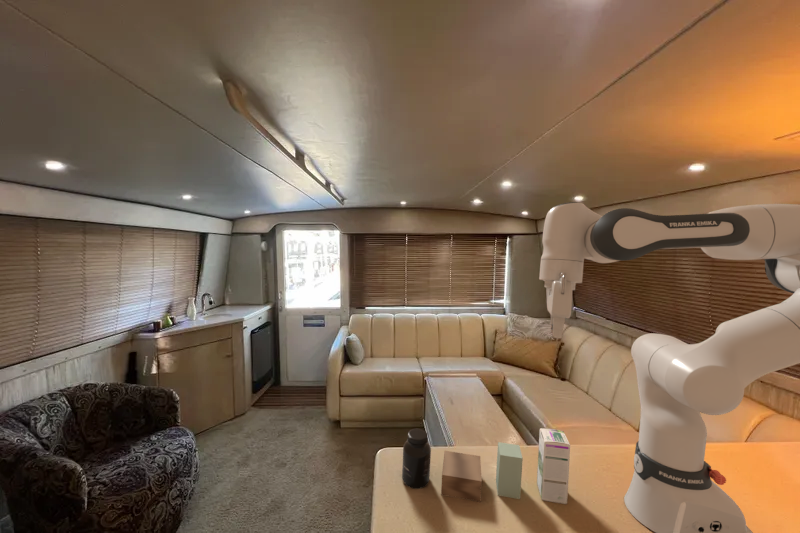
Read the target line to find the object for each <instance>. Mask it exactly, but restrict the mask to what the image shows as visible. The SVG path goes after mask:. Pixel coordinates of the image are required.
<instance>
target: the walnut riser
mask: <svg viewBox="0 0 800 533" xmlns="http://www.w3.org/2000/svg"><path fill="white" fill-rule="evenodd" d="M442 460H443V463H442V472H441V473H442V474H441V487H440V488H441V489H440V495H441V496H445V497H451V498H457V499H462V500H466V501H467V500H469V501H474V502H479V503H481V502H482V486H483V485H482V484H483V478H482V476H483V475H482V461H481V456H480V455H477V454H476V455H475V454H468V453H462V452H455V451H448V450H444V452H443V459H442Z"/></svg>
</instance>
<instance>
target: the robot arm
mask: <svg viewBox="0 0 800 533" xmlns="http://www.w3.org/2000/svg"><path fill="white" fill-rule="evenodd" d="M541 242H542V243H541V244H542V246H543V250H542V255H541V257H540V266H539V275H538V276H539V277H538V279H539V280H540V281H543V282H544V285H543V286H544V288H545V291H546V308H547V309H546V310H547V312H548V313H549V314H550V332H551V333H552V337H553V338H555V339H562V338H563V331H564V329H565V322H566V319H570V318H571V315H572V308H573V307H572V305H573V291H576V285H577V284H583V276H584V263H585V262H584V261H585V260H588V261H592V262H594V263H595V262H596V263H599V264H610V263H615V262H621V261H623V262H624V261H631V260H635V259H638V258H641V257H643V256H645V255H648V254H649V253H651V252H654V251H659V250H671V249H675V250H676V249H693V248H694V249H695V248H696V249H700V250H701V251H702V252H703V253H704V254H706V256H708V257H710V258H713V259H719V260H720V259H721V260H729V261H757V260H764V270H765V274H766V277H767V279H768V281H769V282H770V283H771V284H772V285H773V286H775V287H776V288H777V289H780V290H783V291H785V292H787V293H792V295H790V296H789V297H788V298H787V299H785V300H783V301H782V302H781V303H777V304H774V305H770V306H767V307H764V308H761V309H758V310H754V311H752V312H749V313H747V314H744V315H741V316H738V317H735V318H732V319H730V320H726V321H724V322H721V323H720V324H719V325H718V326H717V328H716V329H715V333H714V334H712V335H711V336H709V337H708V338H706V339H705V340H703V341H700V342H698V343H690V344H689V343H687V342H684V341H682V340H680V339H679V338H676V337H675V336H673V335H668V334H663V333H656V332H655V333H654V332H653V333H652V332H651V333H650V332H649V333H645V334H642V335H641V336H639V337H637V338H636V339H634V341H633V343H632V345H631V348H630V354H631V358H632V360H633V361H632V362H633V363H634V366H635V373H636V382H637V389H638V395H639V396H638V397H639V404H640V420H639V431H638V433H639V434H638V441H637V442H636V444H635V448H634V449H635V450H634V456H633V468H634V470H633V471H634V472H633V475H632V479H631V481H630V484H629V486H628V489H627V492H626V493H625V494H624V498H623V501H624V504H625V507H626V509H627V510H628V511H629V513H630V514H631V516H633V517H634V518H635V519H636V520H637V521H638V522H639V523H641V524H642V525H643V526H644V527H646V528H648V529H649V530H650V531H652V532H654V533H754V532H753V531H752V530H751V529H750V528H749V526H748V525H747V522H746V517H745V516H744V512H743V511H742V509H741V508H740V507H739V505H738V504H737V503H736V501H734V499H732V498H731V497H730V495H729V494H728V493H726V491H724V490H723V489H722V488H721V487H720V486H723V485H725V484H726V483H727V478H726V476H724V475H723V474H721V472H720V471H719V470H717V469H713V468H712V466H711V465H710V464H709V463H708V462H706V461H705V456H706V448H707V447H706V445H707V438H708V432H707V429H708V428H707V426H706V423H705V421H704V419H703V417H702V415H701V414H705V415H710V416H720V415H725V414H728V413H730V412H733V411H734V410H735V409H737V408H738V407H739V405H740V404H741V403H742V401H743V399H744V396H745V395H744V394H745V388H747V387H748V386H750V384H751V383H753V382H755V381H756V380H758V379H759V378H762V377H763V376H765V375H768V374H770V373H774V372H777V371H779V370H783V369H786V368H788V367H789V368H790V367H792V366H796V365H799V364H800V204H792V203H762V204H761V203H760V204H748V205H747V204H746V205H737V206H730V207H724V208H721V209H717V210H713V211H710V212H707V213H696V214H693V213H692V214H676V215H675V214H674V215H673V214H672V215H671V214H670V215H661V214H652V213H648V212H646V211H642V210H638V209H635V208H628V207H627V208H626V207H625V208H624V207H623V208H617V209H616V208H615V209H613V210H610V211H608V212H607V213H605V214H603V215H601V214H599V213H597V212H595V211H593V210H592V209H590V208H589V207H587V206H586V205H585V204H584V203H583V202H578V201H572V202H571V201H570V202H564V203H561V204H556V205H555V206H553V207H552V208H550V210H548V211H547V213H546V216H545V218H544V223H543V231H542V240H541ZM719 485H720V486H719Z"/></svg>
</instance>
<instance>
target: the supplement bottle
mask: <svg viewBox="0 0 800 533" xmlns="http://www.w3.org/2000/svg"><path fill="white" fill-rule="evenodd" d="M402 448H403V449H402V469H401V471H402V472H401V473H402V474H401V478H402V481H403V483H404V485H406V486H407V487H408V488H411V489H414V490H419V489H422V488H425V487H426V486H428V484H429V482H430V476H431V459H432V458H431V456H432V448H431V445H430V443H429V442H428V432H427V431H426V430H425V429H422V428H412V429H410V430H409V431H408V432H407V439H406V441H405V442H404V444H403V447H402Z"/></svg>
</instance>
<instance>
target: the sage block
mask: <svg viewBox="0 0 800 533" xmlns="http://www.w3.org/2000/svg"><path fill="white" fill-rule="evenodd" d="M523 460H524V459H523V454H522V450H521V447H520V445H519V444H514V443H507V442H501V441H500V442H499V441H498V442H497V456H496V475H495V484H496V485H495V486H496V492H497V496H498V497H499V496H500V497H505V498H512V499H515V500H516V499H517V500H520V499H521V493H522V492H521V489H522V476H523V475H522V474H523Z"/></svg>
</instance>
